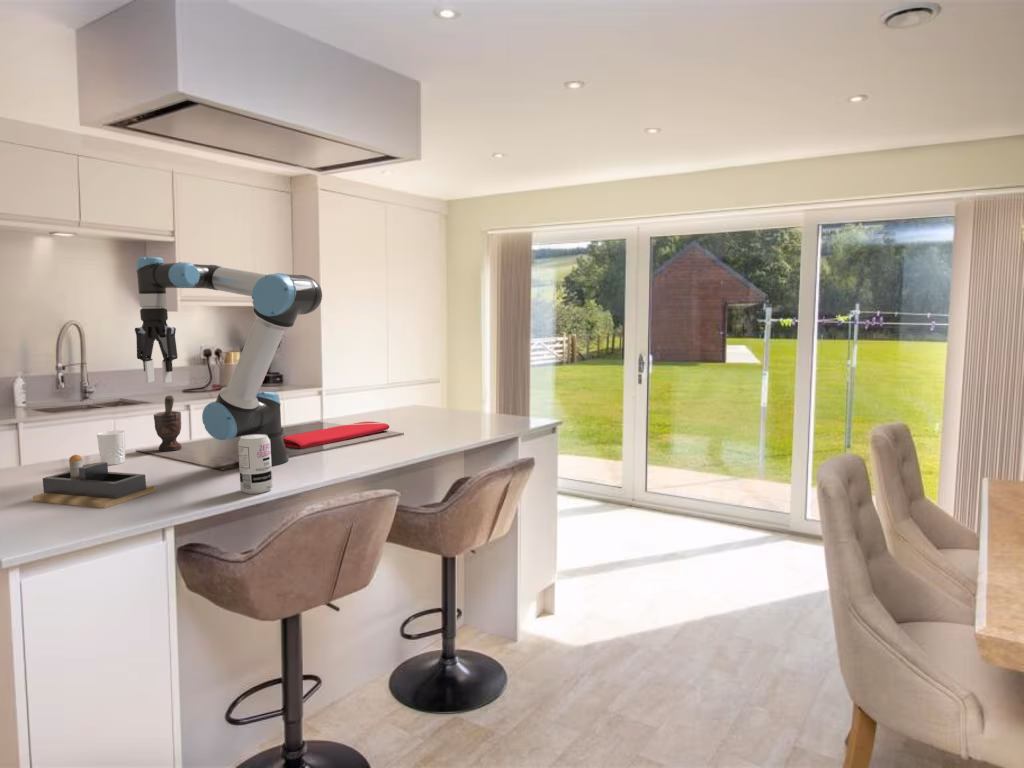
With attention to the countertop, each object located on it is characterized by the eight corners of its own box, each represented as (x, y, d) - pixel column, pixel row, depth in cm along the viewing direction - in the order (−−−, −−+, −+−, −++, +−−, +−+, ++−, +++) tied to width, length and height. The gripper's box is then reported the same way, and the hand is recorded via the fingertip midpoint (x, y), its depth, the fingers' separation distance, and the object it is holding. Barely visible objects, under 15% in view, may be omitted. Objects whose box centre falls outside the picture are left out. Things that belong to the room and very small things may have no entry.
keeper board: (154, 491, 190) (151, 452, 189) (105, 508, 175) (101, 465, 174) (86, 485, 197) (83, 447, 196) (33, 501, 182) (29, 460, 181)
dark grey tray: (77, 483, 194) (74, 458, 193) (146, 488, 187) (144, 463, 186) (43, 492, 185) (41, 467, 184) (115, 499, 178) (113, 472, 177)
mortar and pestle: (193, 449, 245) (189, 393, 243) (169, 454, 238) (165, 396, 236) (175, 446, 252) (171, 391, 249) (151, 450, 245) (147, 394, 242)
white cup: (114, 466, 221) (112, 435, 220) (93, 465, 223) (90, 434, 222) (132, 460, 229) (130, 430, 228) (112, 459, 231) (109, 430, 229)
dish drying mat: (275, 445, 253) (275, 435, 253) (365, 428, 285) (364, 419, 284) (300, 450, 243) (300, 440, 243) (390, 432, 275) (390, 423, 274)
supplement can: (245, 487, 194) (242, 434, 192) (276, 486, 194) (273, 433, 193) (236, 495, 186) (233, 439, 184) (268, 493, 186) (265, 438, 184)
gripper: (187, 307, 216) (192, 381, 219) (138, 308, 221) (144, 380, 224) (169, 307, 209) (174, 384, 211) (119, 308, 214) (125, 382, 217)
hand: (159, 381), depth 218 cm, fingers open, 6 cm apart
